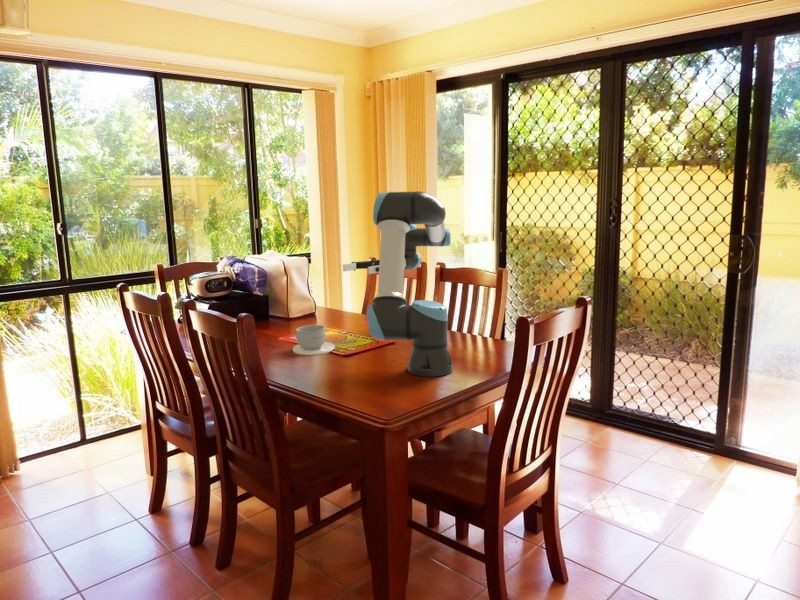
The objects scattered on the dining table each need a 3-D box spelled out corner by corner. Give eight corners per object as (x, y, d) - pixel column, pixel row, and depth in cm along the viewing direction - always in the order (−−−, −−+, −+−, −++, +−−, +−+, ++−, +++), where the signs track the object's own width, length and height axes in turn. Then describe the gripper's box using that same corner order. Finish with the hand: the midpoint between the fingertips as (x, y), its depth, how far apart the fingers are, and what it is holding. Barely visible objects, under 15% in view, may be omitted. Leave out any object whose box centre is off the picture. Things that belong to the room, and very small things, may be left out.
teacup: (316, 352, 220) (315, 331, 218) (291, 350, 224) (290, 329, 222) (334, 343, 232) (333, 323, 231) (310, 341, 236) (309, 321, 235)
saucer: (341, 351, 225) (341, 348, 225) (301, 357, 218) (301, 354, 218) (325, 342, 239) (325, 339, 239) (287, 347, 232) (287, 344, 231)
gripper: (415, 274, 238) (380, 281, 222) (370, 270, 254) (334, 276, 238) (415, 256, 237) (379, 261, 221) (370, 252, 253) (333, 257, 237)
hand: (356, 269), depth 230 cm, fingers open, 13 cm apart
